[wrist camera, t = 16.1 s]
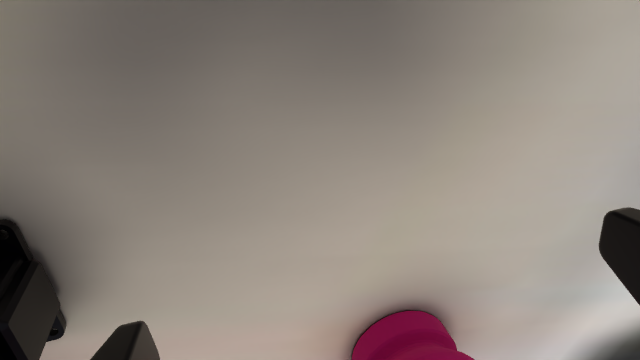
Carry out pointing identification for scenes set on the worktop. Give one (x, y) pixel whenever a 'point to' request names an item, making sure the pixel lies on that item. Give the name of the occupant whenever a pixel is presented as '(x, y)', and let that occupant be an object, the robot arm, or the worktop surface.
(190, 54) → the worktop surface
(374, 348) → the pepper mill
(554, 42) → the worktop surface
